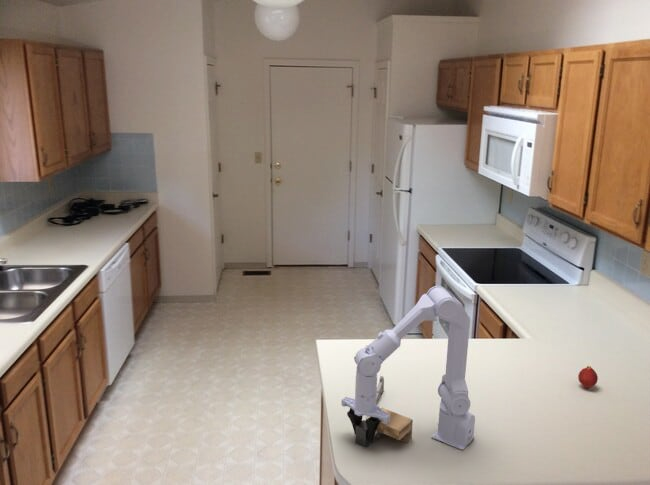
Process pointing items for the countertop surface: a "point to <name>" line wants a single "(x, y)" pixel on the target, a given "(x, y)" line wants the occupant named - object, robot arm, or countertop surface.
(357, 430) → the dark grey block
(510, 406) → the countertop surface
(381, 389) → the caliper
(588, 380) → the onion
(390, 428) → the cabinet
